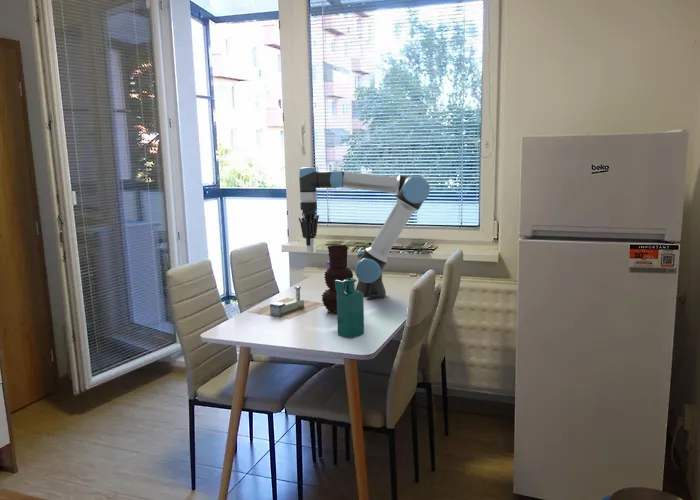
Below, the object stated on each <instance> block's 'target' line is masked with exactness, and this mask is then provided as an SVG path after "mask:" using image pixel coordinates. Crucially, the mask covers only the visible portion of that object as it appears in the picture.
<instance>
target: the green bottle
mask: <svg viewBox="0 0 700 500" xmlns="http://www.w3.org/2000/svg"><path fill="white" fill-rule="evenodd" d="M357 282H358V279H356V278H354V277H353V278H347V279H344V280H343V281H340V280H335V289H336V292H337V314H336V315H337V316H336V319H337V320H336V321H337V335H338V336H341V337H344V338H347V339H354V338H357V337H361V336H364V335H365V309H364V307H365V306H364V305H365V304H364V303H365V302H364V301H365V299H364V298H365V297H363V293H362V292H361V291H358V290H356V287H355V285H356V284H355V283H357ZM344 284H345V290H344Z"/></svg>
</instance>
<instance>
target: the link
mask: <svg viewBox="0 0 700 500" xmlns="http://www.w3.org/2000/svg"><path fill="white" fill-rule="evenodd" d="M293 299H294V300H293V301H290V302H287V303H285V306H284V307H281V313H284V312H287V311H291V310H294V309H297V308H302V307H304V300H305V299H303V298H300V300H296V298H293Z"/></svg>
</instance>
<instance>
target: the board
mask: <svg viewBox="0 0 700 500" xmlns="http://www.w3.org/2000/svg"><path fill="white" fill-rule="evenodd" d="M294 299H295V298H289V297H286V298H283V299H280V300H278V301H276V302H279V303H287V302H290V301H293V300H294ZM270 304H271V303H270ZM270 304H266V305H264V306H260V307H258V308H256V309H253V310H249V311H248V313H251V314H257V315H263V316H270V317H275V318H279V319H280V318H281V319H284V320H285V319H288V320H291V319H293V318H295V317H298V316H301V315H302V314H303V315H304V314H305V313H308V312H310V311H312V310H315V309H317V308H319V307H322V306H323V307H324V304H323V302H318V301H311V300H305V299H304V307H302V308H297V309H294V310H291V311H287V312H284V313H281V317H277V316H271V315H270Z"/></svg>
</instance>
